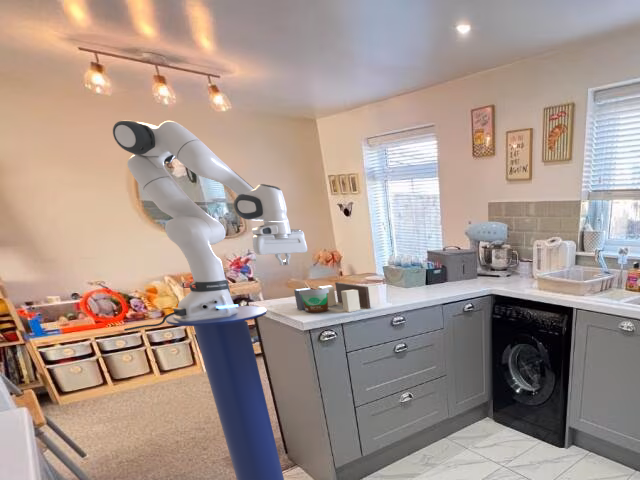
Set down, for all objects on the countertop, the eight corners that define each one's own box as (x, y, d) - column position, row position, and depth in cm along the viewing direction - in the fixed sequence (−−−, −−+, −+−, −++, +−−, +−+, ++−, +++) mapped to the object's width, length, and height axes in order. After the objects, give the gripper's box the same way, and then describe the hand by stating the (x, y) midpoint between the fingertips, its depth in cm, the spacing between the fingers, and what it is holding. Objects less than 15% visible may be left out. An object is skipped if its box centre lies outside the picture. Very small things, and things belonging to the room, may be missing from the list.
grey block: (302, 310, 188) (298, 290, 184) (297, 309, 190) (293, 289, 187) (314, 308, 192) (311, 289, 189) (309, 307, 194) (306, 288, 191)
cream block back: (325, 306, 196) (322, 287, 192) (320, 306, 198) (317, 287, 195) (336, 305, 200) (333, 286, 197) (331, 304, 202) (328, 285, 199)
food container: (304, 314, 180) (300, 291, 176) (302, 311, 185) (298, 289, 181) (333, 311, 186) (330, 289, 182) (331, 308, 191) (328, 287, 187)
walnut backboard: (367, 308, 193) (365, 287, 189) (338, 302, 206) (335, 282, 202) (370, 308, 194) (368, 286, 190) (340, 302, 207) (337, 282, 203)
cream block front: (349, 312, 186) (346, 291, 182) (343, 310, 188) (340, 290, 184) (360, 309, 190) (357, 290, 187) (355, 308, 192) (352, 289, 189)
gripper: (299, 228, 174) (304, 262, 179) (247, 229, 159) (255, 266, 164) (307, 229, 171) (312, 263, 176) (255, 229, 155) (263, 267, 160)
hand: (284, 265), depth 170 cm, fingers closed
